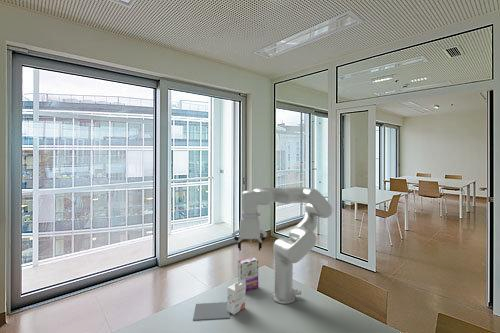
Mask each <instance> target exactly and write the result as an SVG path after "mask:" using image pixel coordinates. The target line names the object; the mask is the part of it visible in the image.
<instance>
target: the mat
mask: <svg viewBox="0 0 500 333" xmlns="http://www.w3.org/2000/svg"><path fill="white" fill-rule="evenodd" d="M194 307H195V308H194V312H193V318H192V321H194V322H195V321H206V320H207V321H208V320H211V321H212V320H224V319H230V318H231V313H230V312H228V311H227V301H225V302H223V301H221V302H208V303H207V302H206V303H204V302H203V303H195V306H194Z"/></svg>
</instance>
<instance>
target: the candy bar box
mask: <svg viewBox="0 0 500 333" xmlns="http://www.w3.org/2000/svg"><path fill="white" fill-rule="evenodd" d="M244 279H246V292H247V291H251V290H255V289H258V288H259V260H258V259H257V258H256V257H254V256H253V257H249V258H244V259H241V260H237V282H240V281H242V280H244Z"/></svg>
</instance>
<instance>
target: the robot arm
mask: <svg viewBox="0 0 500 333" xmlns="http://www.w3.org/2000/svg"><path fill="white" fill-rule="evenodd" d="M241 198H242V199H241V210H242V211H241V214H242V215H241V217H240V220H239V229H237V230H235V231H233V232H232V237H233V238H234V240H235V241H236V243H237V249H239V252H240V251H242V240H258V251H261V249H262V246H263V245H262V243H263V241H265V239H266V237H267V236H268V232H266V231H264V230H262V229H261V226H260V225H261V223H260V218H259V217H261V213H260V212H258V206H270V205H271V204H273V203H279V204H287V205H288V204H289V205H290V204H305V207H304V208H305V209H304V216H303V219H302V220H301V221H299V222H298V223H297V224H296V225H295V226H293V228H292V229H291V230H290V231H289V233H288V238H289V239H287V238H284V237H280V238H277V239H276V240H275V241H274V242H273V246H272V250H273V252H272V253H273V256H274V257H273V258H274V291H273V292H272V293H271V299H272V300H273V301H274V302H275V303H278V304H282V305H288V304H291V303H294V302H295V301H296V296H297V295H300V296H301V295H302V294H303V293H302V291H301V290H299V289H298V288H295V289H294V288H293V287H294V286H293V284H294V283H293V282H294V281H293V277H294V276H293V273H294V266H293V264H297V263H298V262H299V263H300V261H301V260H302V259H303V258H304V257H306V255H308V254H309V253H310V251H312V250H313V248H314V247H315V245H316V243H317V235H316V234H315V232H314V231H315V230H316V229H317V226H318V218H322V219H327V218H329V217H331V215H332V213H333V207H332V205H331V203H330V202H329V201H328V200H327V199H326V198H325V197H324V195H323V194H322V193H321V192H320V191H319V190H317V189H316V188H311V187H304V186H303V187H302V186H300V187H299V186H298V187H256V188H254V189H252V190H251V189H250V190H243V191H242V194H241ZM237 234H239V236H237ZM261 234H262V235H263V236H262V237H261Z"/></svg>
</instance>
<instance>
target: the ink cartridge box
mask: <svg viewBox="0 0 500 333" xmlns="http://www.w3.org/2000/svg"><path fill="white" fill-rule="evenodd" d="M246 292H247V291H246V279H244V280H242V281H240V282H238V281H237V282H235V283H234V284H232V285H230V286H228V287H227V298H226V299H227V301H226V302H227V311H228V312H230V314H231V315H236V314H237V313H239V312H241V311H242V310H243V309H245V307H246Z"/></svg>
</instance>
